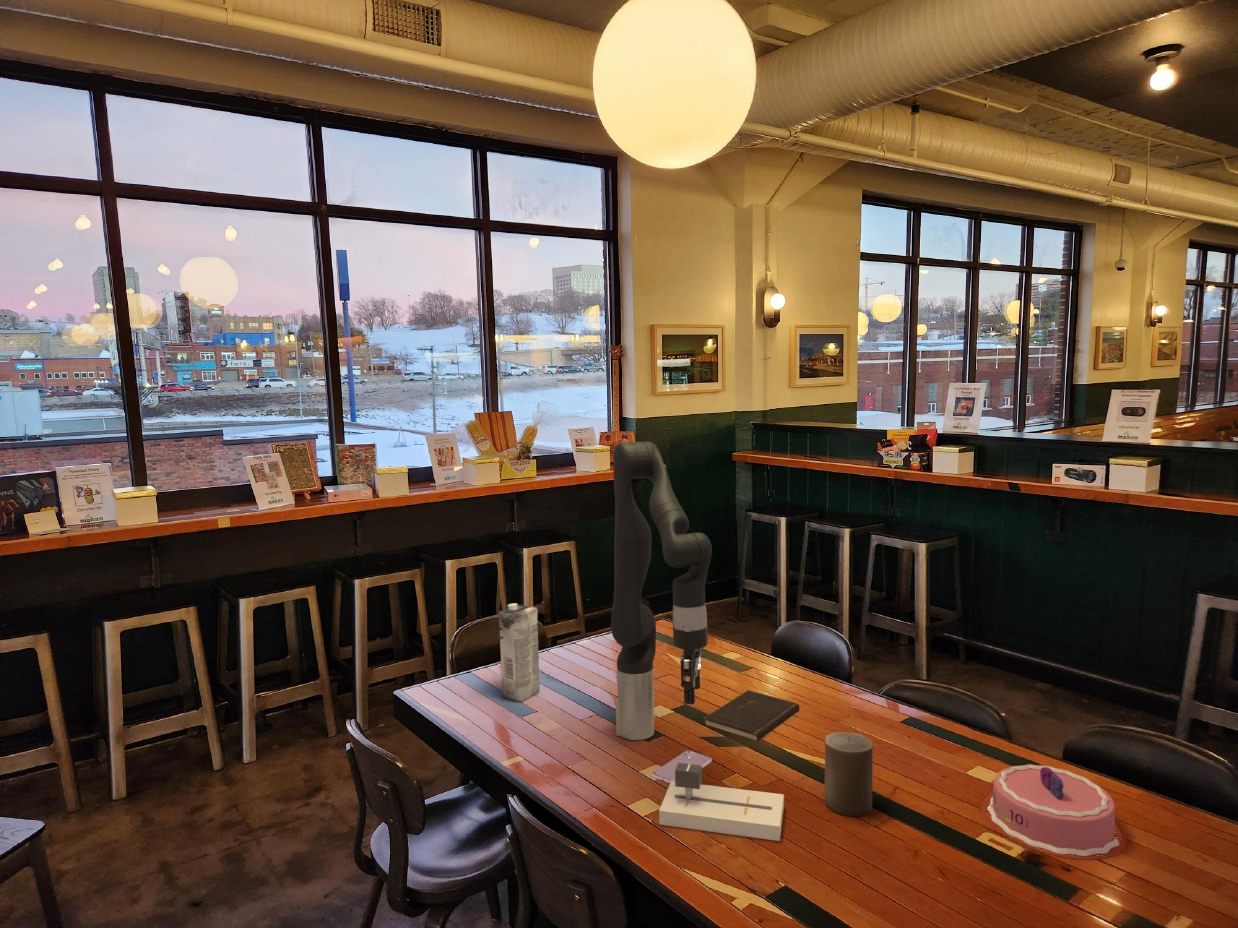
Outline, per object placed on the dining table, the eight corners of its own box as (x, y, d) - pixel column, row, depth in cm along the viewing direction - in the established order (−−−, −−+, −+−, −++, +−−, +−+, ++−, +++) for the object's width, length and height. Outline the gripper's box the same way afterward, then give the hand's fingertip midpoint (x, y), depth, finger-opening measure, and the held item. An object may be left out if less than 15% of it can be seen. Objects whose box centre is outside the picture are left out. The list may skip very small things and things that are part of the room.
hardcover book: (703, 726, 199) (703, 717, 199) (748, 697, 217) (748, 689, 216) (757, 743, 189) (757, 734, 189) (799, 711, 206) (799, 703, 206)
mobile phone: (649, 772, 173) (687, 748, 185) (649, 776, 173) (687, 752, 185) (676, 783, 168) (713, 757, 180) (676, 787, 168) (713, 761, 180)
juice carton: (544, 691, 223) (541, 602, 221) (521, 704, 214) (517, 611, 212) (521, 685, 228) (517, 598, 225) (497, 698, 219) (494, 607, 217)
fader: (675, 799, 157) (675, 769, 156) (678, 791, 160) (678, 762, 159) (699, 802, 156) (698, 772, 155) (702, 794, 159) (701, 764, 158)
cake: (961, 790, 164) (962, 743, 163) (1079, 789, 164) (1080, 742, 162) (1018, 861, 140) (1020, 806, 138) (1157, 861, 139) (1159, 806, 138)
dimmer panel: (659, 824, 154) (659, 809, 153) (671, 793, 165) (671, 780, 165) (779, 840, 147) (779, 825, 147) (783, 807, 159) (783, 793, 158)
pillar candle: (865, 821, 153) (866, 750, 152) (818, 808, 158) (818, 739, 157) (877, 799, 161) (878, 731, 160) (831, 787, 166) (832, 721, 165)
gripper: (678, 614, 174) (680, 683, 175) (667, 633, 160) (670, 707, 161) (710, 615, 172) (713, 684, 173) (702, 634, 158) (705, 709, 159)
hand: (692, 695), depth 167 cm, fingers open, 8 cm apart
